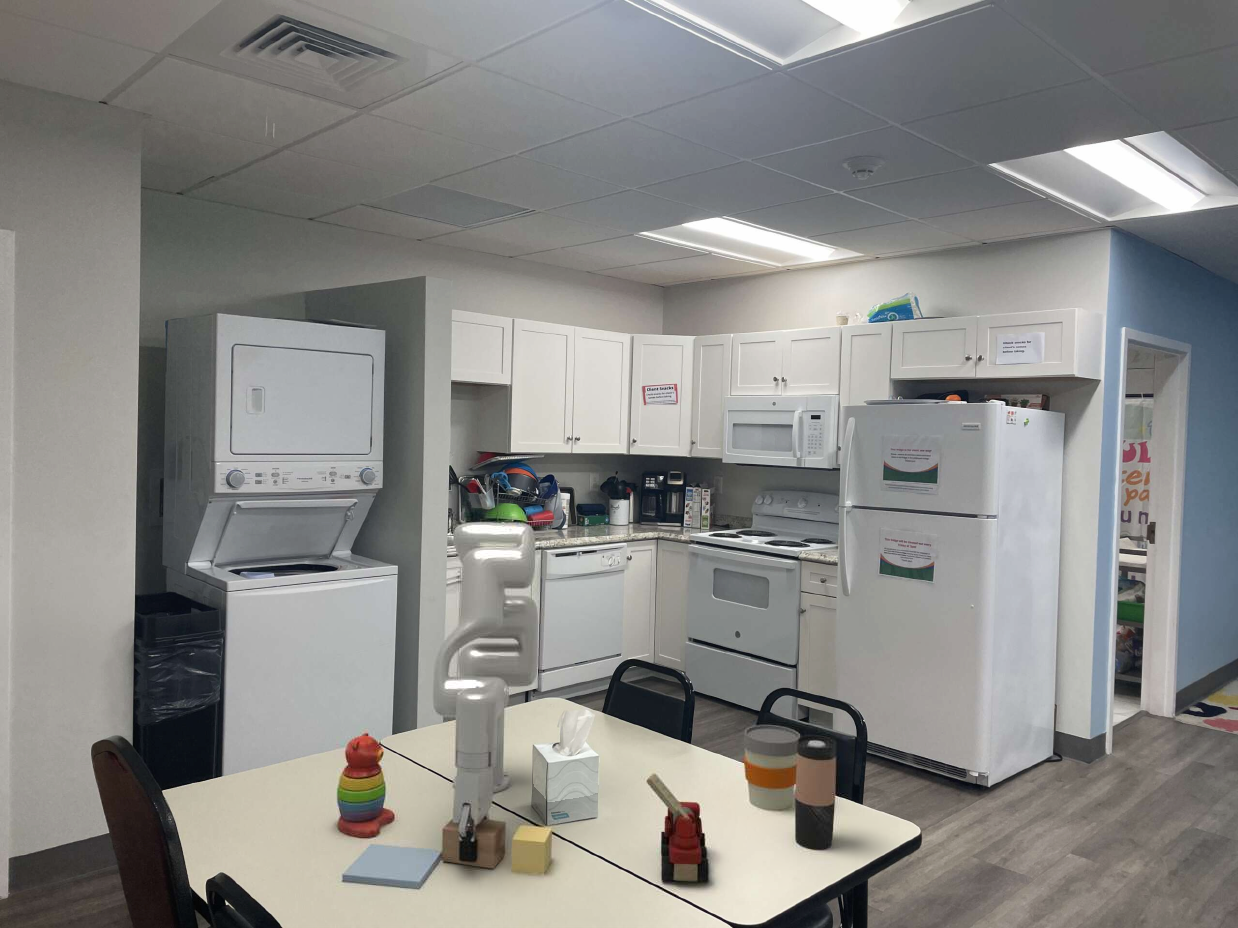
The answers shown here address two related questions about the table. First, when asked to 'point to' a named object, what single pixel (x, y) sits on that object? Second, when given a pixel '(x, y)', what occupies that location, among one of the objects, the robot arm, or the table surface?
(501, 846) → the long brick
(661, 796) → the toy fire truck
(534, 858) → the cube brick
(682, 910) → the table surface
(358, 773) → the stacking bear
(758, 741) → the reusable coffee cup
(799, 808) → the travel mug
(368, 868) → the base board
